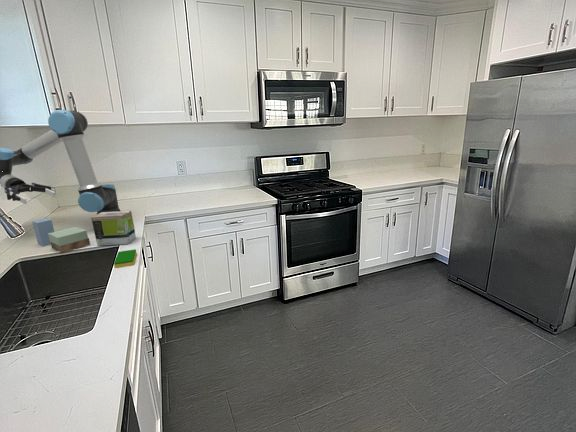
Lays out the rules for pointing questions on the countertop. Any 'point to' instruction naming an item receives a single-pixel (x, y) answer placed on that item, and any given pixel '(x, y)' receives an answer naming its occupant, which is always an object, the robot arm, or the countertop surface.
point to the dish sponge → (125, 258)
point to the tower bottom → (71, 245)
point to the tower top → (67, 236)
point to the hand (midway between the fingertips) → (40, 198)
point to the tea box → (113, 228)
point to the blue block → (43, 231)
